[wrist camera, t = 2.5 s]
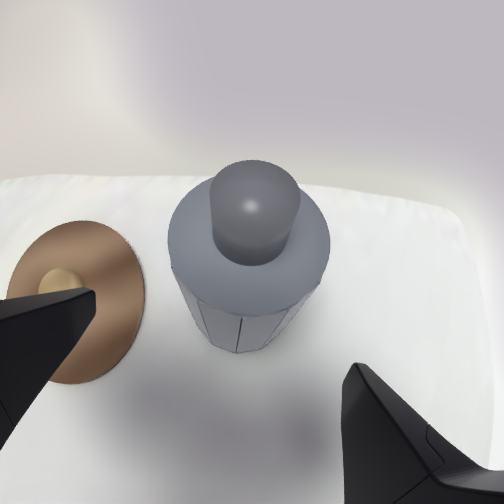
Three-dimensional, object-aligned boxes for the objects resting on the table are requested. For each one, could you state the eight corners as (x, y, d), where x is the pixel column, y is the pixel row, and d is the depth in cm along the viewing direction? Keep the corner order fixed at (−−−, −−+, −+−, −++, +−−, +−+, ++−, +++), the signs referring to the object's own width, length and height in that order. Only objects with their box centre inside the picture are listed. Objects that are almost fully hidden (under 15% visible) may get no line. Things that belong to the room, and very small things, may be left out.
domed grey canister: (303, 312, 21) (385, 210, 9) (234, 370, 19) (242, 337, 7) (245, 250, 23) (263, 112, 12) (177, 299, 21) (122, 182, 9)
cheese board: (183, 323, 21) (172, 307, 17) (56, 413, 16) (26, 413, 13) (105, 208, 26) (90, 179, 22) (5, 285, 21) (-21, 267, 17)
